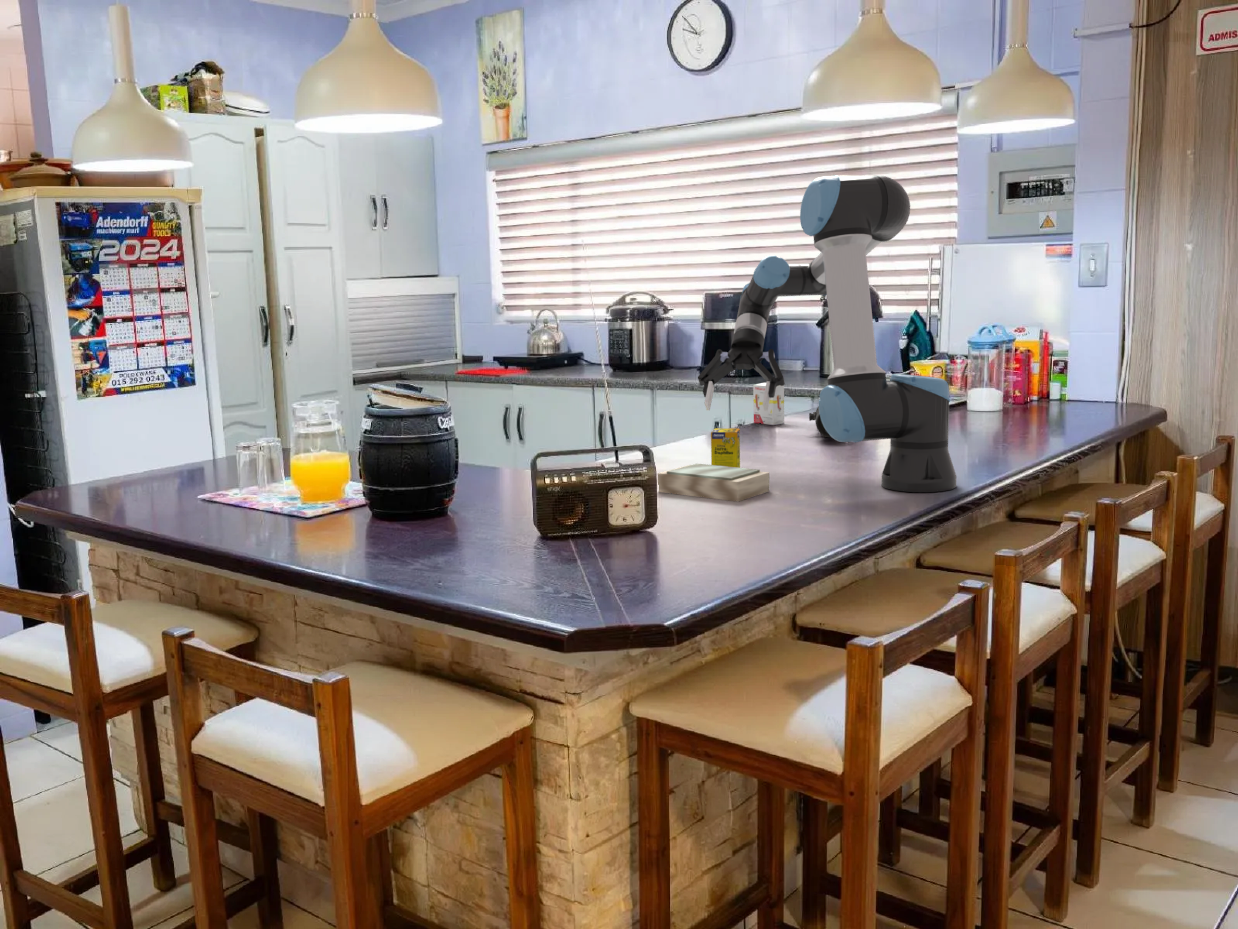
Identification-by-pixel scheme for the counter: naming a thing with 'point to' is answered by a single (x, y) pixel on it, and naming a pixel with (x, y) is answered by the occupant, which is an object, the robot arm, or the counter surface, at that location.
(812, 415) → the rifle scope
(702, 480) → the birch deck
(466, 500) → the counter surface
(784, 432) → the counter surface
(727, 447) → the supplement box
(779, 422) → the ink box
